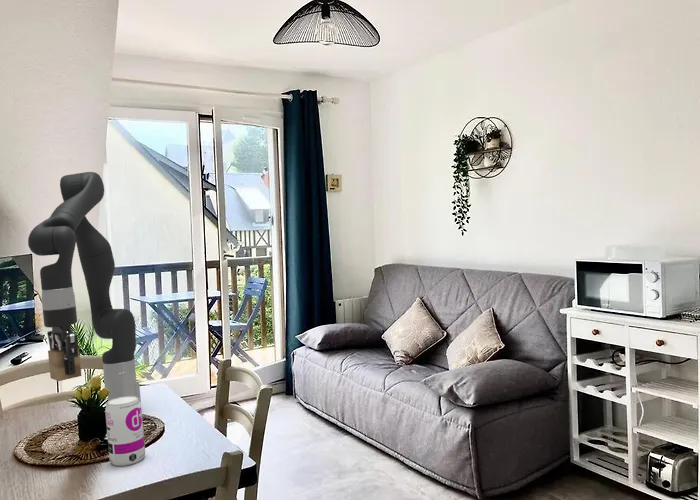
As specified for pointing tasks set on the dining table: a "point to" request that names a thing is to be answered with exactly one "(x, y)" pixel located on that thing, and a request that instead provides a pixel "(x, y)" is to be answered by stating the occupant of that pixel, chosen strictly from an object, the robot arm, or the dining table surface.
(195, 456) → the dining table surface
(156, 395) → the dining table surface
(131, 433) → the supplement can
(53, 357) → the beige wooden block
